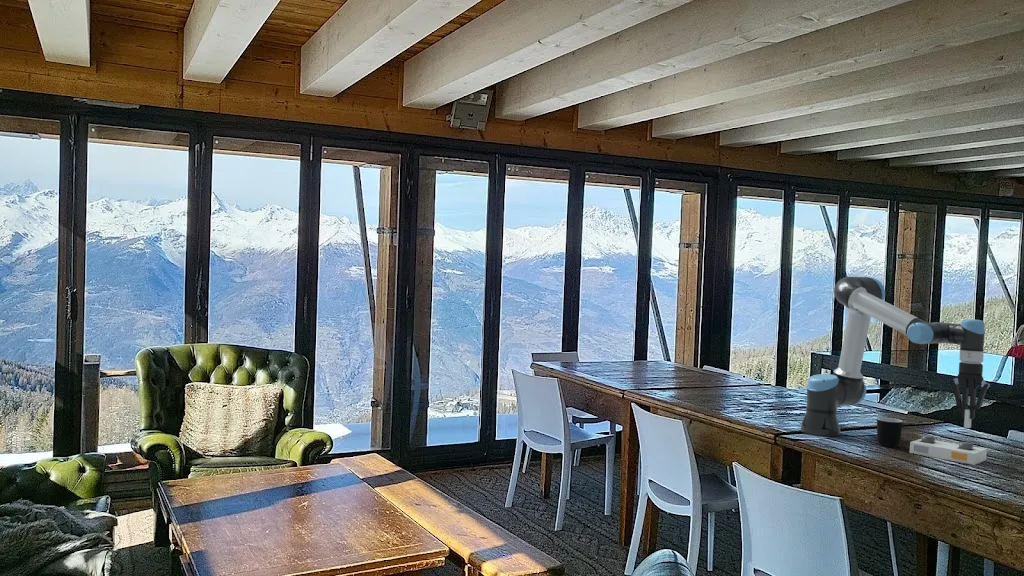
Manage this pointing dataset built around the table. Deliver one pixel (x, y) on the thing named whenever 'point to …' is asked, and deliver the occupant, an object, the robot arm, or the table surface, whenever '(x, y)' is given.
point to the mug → (889, 432)
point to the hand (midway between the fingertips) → (967, 427)
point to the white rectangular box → (948, 451)
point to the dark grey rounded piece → (928, 439)
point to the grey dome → (966, 446)
